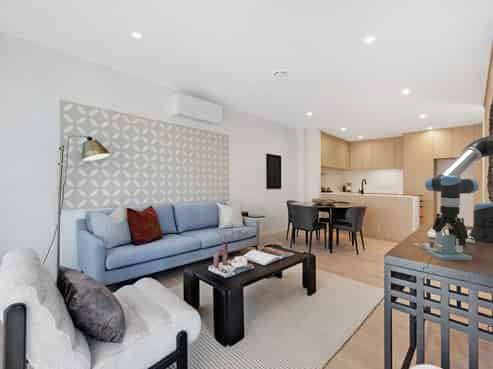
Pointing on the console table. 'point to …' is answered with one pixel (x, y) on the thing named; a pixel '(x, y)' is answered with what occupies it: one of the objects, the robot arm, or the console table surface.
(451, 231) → the coffee mug
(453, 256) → the panel
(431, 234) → the console table surface
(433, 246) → the boss board
